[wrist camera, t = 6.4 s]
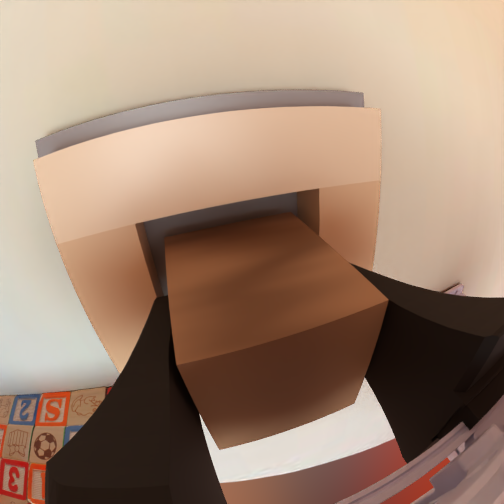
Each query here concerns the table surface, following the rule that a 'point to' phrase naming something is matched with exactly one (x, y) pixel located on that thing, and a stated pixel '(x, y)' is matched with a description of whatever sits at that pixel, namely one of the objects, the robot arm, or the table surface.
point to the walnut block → (268, 325)
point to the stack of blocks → (38, 437)
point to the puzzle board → (202, 188)
